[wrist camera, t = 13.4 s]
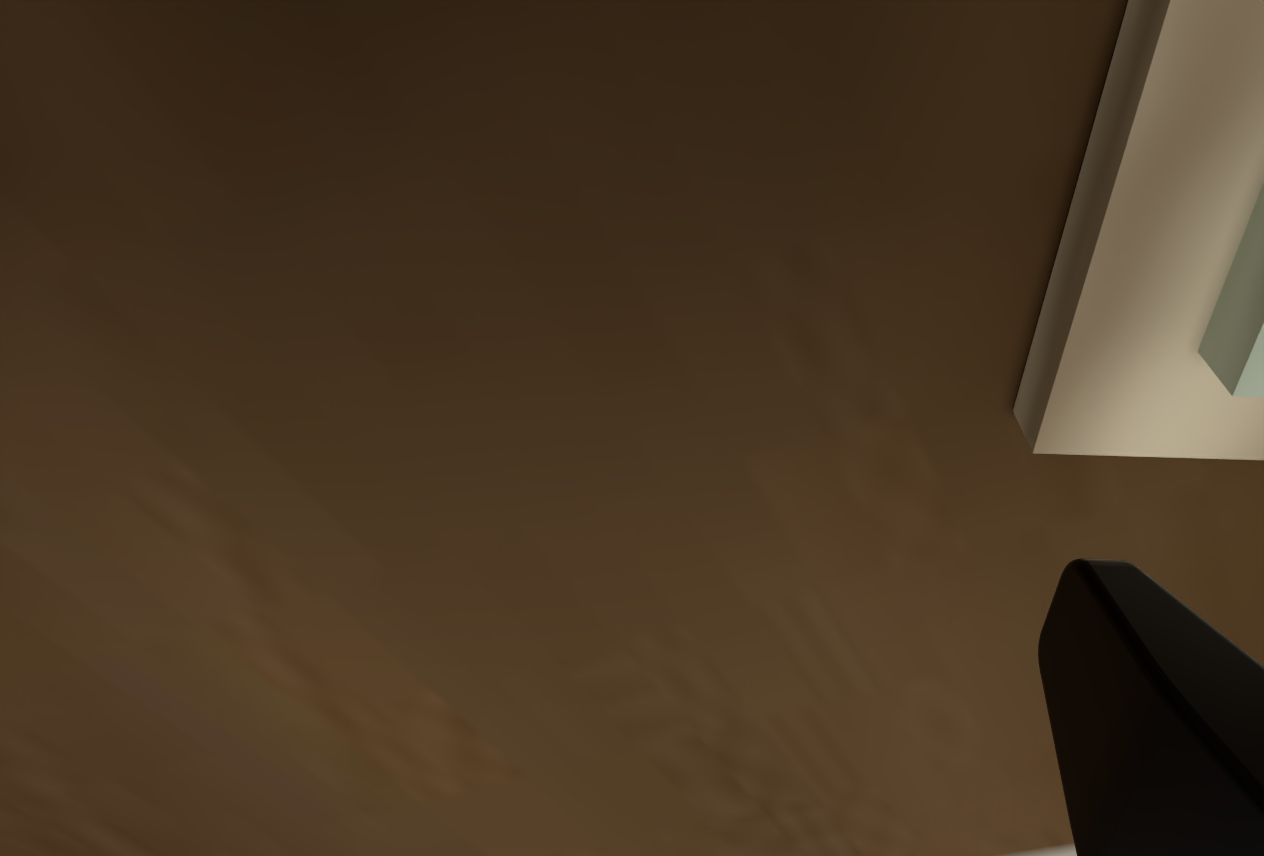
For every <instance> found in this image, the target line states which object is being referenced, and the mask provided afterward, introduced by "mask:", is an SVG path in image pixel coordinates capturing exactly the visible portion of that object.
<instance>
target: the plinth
mask: <svg viewBox="0 0 1264 856" xmlns="http://www.w3.org/2000/svg"><path fill="white" fill-rule="evenodd" d="M1013 412H1014V415H1015V417H1016V419H1017V421H1018V423H1019V425H1020V427H1021V429H1022V432H1023V434H1024V436H1025V438H1026V440H1027V442H1028V444H1029V447H1030V449H1031V451H1032V453H1039V454H1073V455H1107V456H1141V457H1174V458H1208V459H1242V460H1264V0H1128V4H1127V7H1126V11H1125V15H1124V18H1123V22H1122V25H1121V29H1120V32H1119V36H1118V39H1117V43H1116V46H1115V50H1114V54H1113V57H1112V61H1111V64H1110V68H1109V71H1108V75H1107V78H1106V82H1105V86H1104V89H1103V93H1102V96H1101V100H1100V103H1099V107H1098V110H1097V114H1096V117H1095V121H1094V125H1093V128H1092V132H1091V135H1090V139H1089V142H1088V146H1087V149H1086V153H1085V156H1084V160H1083V164H1082V167H1081V171H1080V174H1079V178H1078V181H1077V185H1076V188H1075V192H1074V195H1073V199H1072V203H1071V206H1070V210H1069V213H1068V217H1067V220H1066V224H1065V227H1064V231H1063V235H1062V238H1061V242H1060V245H1059V249H1058V252H1057V256H1056V259H1055V263H1054V266H1053V270H1052V274H1051V277H1050V281H1049V284H1048V288H1047V291H1046V295H1045V298H1044V302H1043V305H1042V309H1041V313H1040V316H1039V320H1038V323H1037V327H1036V330H1035V334H1034V337H1033V341H1032V345H1031V348H1030V352H1029V355H1028V359H1027V362H1026V366H1025V369H1024V373H1023V376H1022V380H1021V384H1020V387H1019V391H1018V394H1017V398H1016V401H1015V405H1014V408H1013Z"/></svg>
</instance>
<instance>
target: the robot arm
mask: <svg viewBox="0 0 1264 856" xmlns="http://www.w3.org/2000/svg"><path fill="white" fill-rule="evenodd" d="M1038 658H1039V667H1040V673H1041V678H1042V683H1043V688H1044V693H1045V698H1046V704H1047V709H1048V714H1049V719H1050V724H1051V729H1052V734H1053V739H1054V744H1055V749H1056V755H1057V760H1058V765H1059V770H1060V775H1061V780H1062V785H1063V790H1064V795H1065V800H1066V805H1067V811H1068V816H1069V821H1070V826H1071V830H1072V835H1073V839H1074V844H1075V848H1076V853H1077V856H1264V667H1263V666H1262V665H1261V664H1260V663H1258V662H1257V661H1256V660H1254V659H1253V658H1252V657H1251V656H1249V655H1248V654H1247V653H1246V652H1244V651H1243V650H1242V649H1241V648H1239V647H1238V646H1237V645H1236V644H1234V643H1233V642H1232V641H1230V640H1229V639H1228V638H1227V637H1225V636H1224V635H1223V634H1222V633H1220V632H1219V631H1218V630H1217V629H1215V628H1214V627H1213V626H1212V625H1210V624H1209V623H1208V622H1206V621H1205V620H1204V619H1203V618H1201V617H1200V616H1199V615H1198V614H1196V613H1195V612H1194V611H1193V610H1191V609H1190V608H1189V607H1187V606H1186V605H1185V604H1184V603H1182V602H1181V601H1180V600H1179V599H1177V598H1176V597H1175V596H1174V595H1172V594H1171V593H1170V592H1169V591H1167V590H1166V589H1165V588H1163V587H1162V586H1161V585H1160V584H1158V583H1157V582H1156V581H1155V580H1153V579H1152V578H1151V577H1150V576H1148V575H1147V574H1146V573H1145V572H1143V571H1142V570H1141V569H1139V568H1138V567H1137V566H1135V565H1133V564H1132V563H1130V562H1128V561H1123V560H1114V559H1083V558H1081V559H1076V560H1073V561H1071V562H1070V563H1069V564H1068V565H1067V566H1066V567H1065V569H1064V571H1063V573H1062V575H1061V578H1060V580H1059V583H1058V586H1057V589H1056V592H1055V594H1054V597H1053V600H1052V603H1051V606H1050V608H1049V611H1048V614H1047V617H1046V620H1045V622H1044V625H1043V628H1042V631H1041V634H1040V639H1039V646H1038Z"/></svg>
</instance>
